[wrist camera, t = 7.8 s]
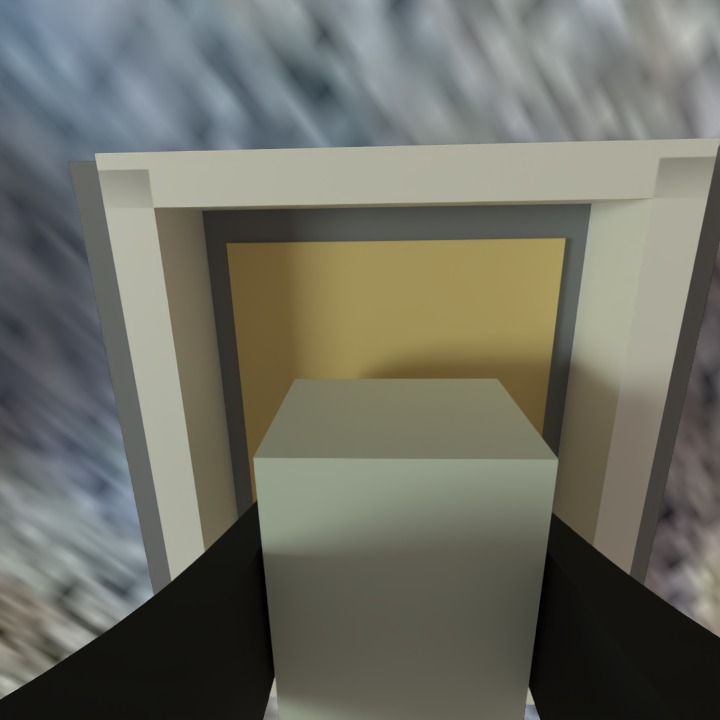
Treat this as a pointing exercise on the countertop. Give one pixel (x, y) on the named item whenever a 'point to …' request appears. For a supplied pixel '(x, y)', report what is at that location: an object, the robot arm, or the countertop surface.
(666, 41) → the countertop surface
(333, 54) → the countertop surface
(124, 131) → the countertop surface
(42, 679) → the robot arm
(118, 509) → the countertop surface
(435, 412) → the upright pale green block
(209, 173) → the dock
